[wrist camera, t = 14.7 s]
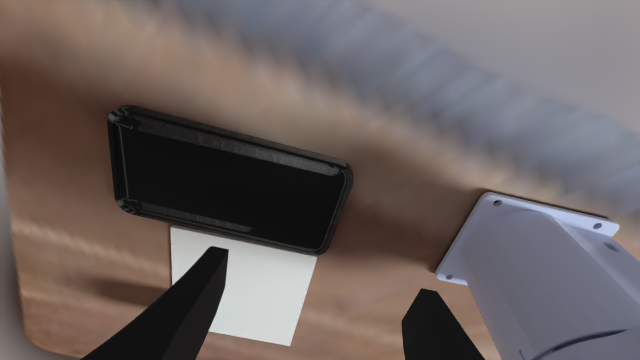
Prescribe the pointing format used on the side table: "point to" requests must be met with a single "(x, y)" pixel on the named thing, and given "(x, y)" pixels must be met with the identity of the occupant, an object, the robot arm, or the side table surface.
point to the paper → (250, 284)
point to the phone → (225, 181)
